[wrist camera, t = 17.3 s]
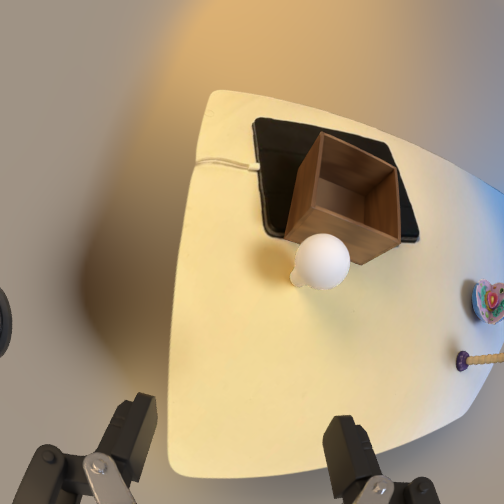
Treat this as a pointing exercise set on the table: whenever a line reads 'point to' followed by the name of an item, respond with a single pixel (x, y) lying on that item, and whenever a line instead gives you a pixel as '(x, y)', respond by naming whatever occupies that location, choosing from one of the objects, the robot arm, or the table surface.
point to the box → (346, 199)
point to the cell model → (488, 301)
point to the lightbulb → (320, 262)
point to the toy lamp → (476, 359)
